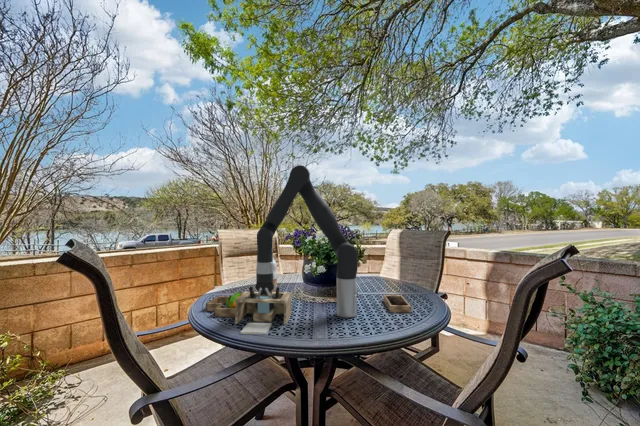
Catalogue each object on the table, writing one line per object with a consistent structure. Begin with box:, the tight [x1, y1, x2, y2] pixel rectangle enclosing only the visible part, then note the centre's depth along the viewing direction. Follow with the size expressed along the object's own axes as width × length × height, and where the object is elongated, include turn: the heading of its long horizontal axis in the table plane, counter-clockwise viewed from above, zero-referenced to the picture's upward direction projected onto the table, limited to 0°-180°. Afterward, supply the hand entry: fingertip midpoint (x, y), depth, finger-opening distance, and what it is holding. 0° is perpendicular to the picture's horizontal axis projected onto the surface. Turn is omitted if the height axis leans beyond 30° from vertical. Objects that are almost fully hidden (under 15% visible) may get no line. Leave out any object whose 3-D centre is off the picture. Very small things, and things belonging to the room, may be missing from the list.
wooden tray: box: [383, 294, 412, 313], centre depth 147 cm, size 10×19×3 cm, turn 177°
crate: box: [234, 291, 292, 325], centre depth 129 cm, size 22×14×10 cm, turn 87°
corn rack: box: [205, 292, 244, 318], centre depth 145 cm, size 28×28×4 cm
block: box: [258, 297, 271, 313], centre depth 129 cm, size 5×5×6 cm
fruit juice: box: [272, 248, 278, 292], centre depth 158 cm, size 9×9×28 cm
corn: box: [225, 290, 243, 308], centre depth 145 cm, size 7×8×20 cm
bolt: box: [387, 296, 407, 306], centre depth 146 cm, size 6×5×15 cm
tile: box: [240, 322, 273, 336], centre depth 116 cm, size 10×10×1 cm
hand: (264, 309), depth 129 cm, fingers open, 5 cm apart
